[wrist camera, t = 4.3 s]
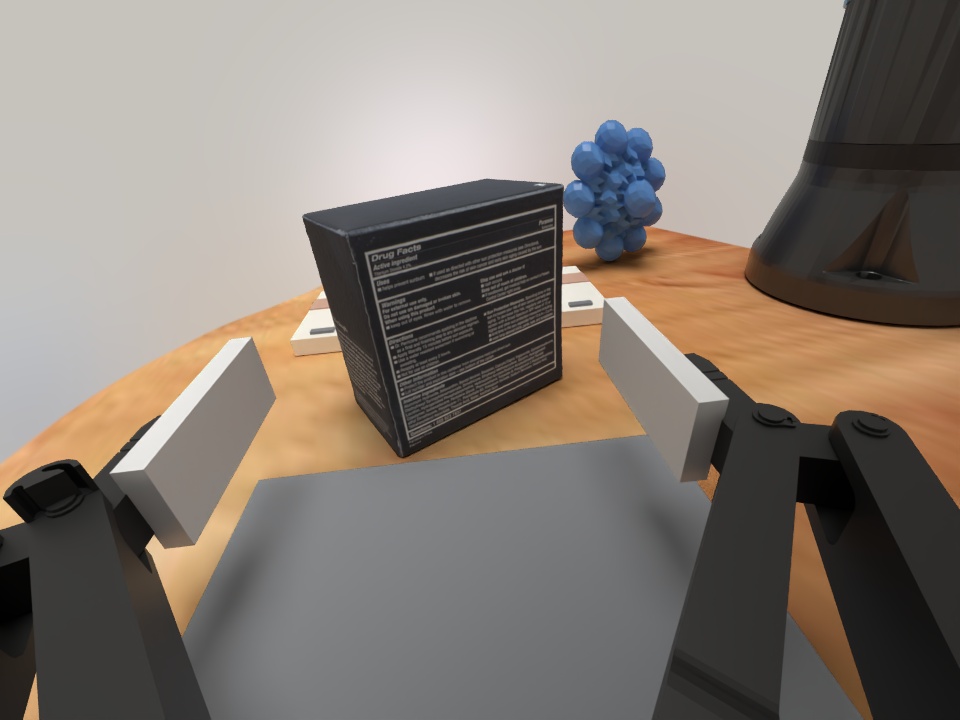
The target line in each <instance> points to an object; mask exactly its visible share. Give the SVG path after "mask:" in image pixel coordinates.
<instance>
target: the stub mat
mask: <svg viewBox="0 0 960 720" xmlns="http://www.w3.org/2000/svg"><path fill="white" fill-rule="evenodd" d="M711 504H712V503H711V501H710V500H709V498H708V497H707V496H706V494H705V493H704V491H703V490H702V488H701V487H700V486H699V484H698V483H697V481H691V482H683V483H679V481H678V480H677V478H676V477H675V475H674V474H673V472H672V471H671V469H670V468H669V466H668V465H667V463H666V462H665V460H664V459H663V457H662V456H661V454H660V453H659V451H658V450H657V448H656V447H655V445H654V444H653V442H652V441H651V439H650V438H649V436H648V435H640V436H631V437H623V438H614V439H606V440H597V441H588V442H580V443H571V444H563V445H554V446H546V447H537V448H529V449H520V450H512V451H503V452H495V453H486V454H478V455H469V456H460V457H452V458H443V459H435V460H426V461H418V462H409V463H401V464H392V465H384V466H375V467H367V468H358V469H350V470H341V471H332V472H324V473H315V474H307V475H298V476H290V477H281V478H273V479H264V480H259V481H258V483H257V485H256V487H255V489H254V491H253V493H252V495H251V497H250V499H249V501H248V503H247V505H246V507H245V510H244V512H243V514H242V516H241V518H240V520H239V522H238V524H237V526H236V528H235V530H234V532H233V534H232V536H231V538H230V540H229V542H228V544H227V546H226V549H225V551H224V553H223V555H222V557H221V559H220V561H219V563H218V565H217V567H216V569H215V571H214V573H213V575H212V577H211V579H210V581H209V583H208V585H207V588H206V590H205V592H204V594H203V596H202V598H201V600H200V602H199V604H198V606H197V608H196V610H195V612H194V614H193V616H192V618H191V620H190V622H189V624H188V627H187V629H186V631H185V633H184V635H183V637H182V640H183V643H184V646H185V648H186V651H187V654H188V657H189V659H190V662H191V665H192V668H193V670H194V673H195V676H196V679H197V681H198V684H199V687H200V689H201V692H202V695H203V698H204V700H205V703H206V706H207V709H208V711H209V714H210V717H211V720H651V719H652V716H653V712H654V709H655V705H656V701H657V698H658V694H659V691H660V687H661V684H662V680H663V676H664V673H665V669H666V666H667V662H668V658H669V655H670V651H671V648H672V644H673V640H674V637H675V633H676V630H677V626H678V623H679V619H680V615H681V612H682V608H683V605H684V601H685V597H686V594H687V590H688V587H689V583H690V580H691V576H692V572H693V569H694V565H695V562H696V558H697V554H698V551H699V547H700V544H701V540H702V536H703V533H704V529H705V526H706V522H707V519H708V515H709V511H710V508H711ZM779 717H780V720H864V719H863V718H862V716H861V715H860V713H859V712H858V710H857V709H856V708H855V706H854V705H853V703H852V702H851V700H850V699H849V698H848V696H847V695H846V693H845V692H844V690H843V689H842V688H841V686H840V685H839V683H838V682H837V681H836V679H835V678H834V676H833V675H832V673H831V672H830V671H829V669H828V668H827V666H826V665H825V663H824V662H823V661H822V659H821V658H820V656H819V655H818V654H817V652H816V651H815V649H814V648H813V646H812V645H811V644H810V642H809V641H808V639H807V638H806V636H805V635H804V634H803V632H802V631H801V629H800V628H799V626H798V625H797V624H796V622H795V621H794V619H793V618H792V617H791V615H790V614H789V612H788V611H787V618H786V630H785V642H784V655H783V667H782V680H781V692H780V704H779Z"/></svg>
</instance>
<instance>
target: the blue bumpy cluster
mask: <svg viewBox="0 0 960 720" xmlns="http://www.w3.org/2000/svg"><path fill="white" fill-rule="evenodd" d="M652 149H653V146H652V140H651V138H650V136H649V134H648V133H647V132H646V131H645V130H643V129H642V128H633V129H631V130H630V131H628V132H626V130H625V128H624V126H623V125H622V124H621V123H619V122H618V121H616V120H608V121H606V122H605V123H603V124H602V125H601V126H600V128H599V130H598V131H597V133H596V135H595V143H593V142H583V143H581V144H580V145H578V146H577V147H576V149H575V151H574V152H573V154H572V158H571V165H572V170H573V171H574V173H575V175H576V176H577V177H578V178H579V179H580V180H574V181H573V182H571V183H570V184H569V185H568V186H567V188H566V190H565V191H564V198H563V204H564V207H565V209H566V210H567V212H568V213H569V214H571V215H572V216H574V217H575V218H578V220H577V221H576V223H575V225H574V227H573V236H574V239H575V241H576V242H577V244H578V245H580V246H581V247H583V248H585V249H593V248H594V247H595V251H596V253H597V255H598V256H599V257H600V258H601V259H603V260H604V261H614V260H616V259H617V258H619V257H620V256H621V254H622V253H623V250H626V251H627V252H635V251H637V250H639V249H641V248H642V247H643V245H644V244H645V242H646V238H647V236H646V231H645V229H644V227H643V226H651V225H653V224H655V223H656V222H657V221H658V220H659V219H660V217H661V215H662V205H661V202H660V200H659V199H658V197H656V194H655V192H656V191H657V190H659V189H660V187H661V186H662V185H663V182H664V180H665V170H664V167H663V165H662V163H661V162H660V161H659V160H657V159H656V158H650V156H651V153H652Z"/></svg>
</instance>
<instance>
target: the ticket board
mask: <svg viewBox="0 0 960 720" xmlns="http://www.w3.org/2000/svg"><path fill="white" fill-rule="evenodd" d="M562 268H563V270H562V327H572V326H581V325H590V324H600V323H602V316H603V304H604V299H605V298H604V297H603V296H602V295H601V294H600V292H599V291H598V290H597V289H596V288H595V287H594V286H593V285H592V284H591V282H590V280H589V279H588V278H587V277H586V276H585V275H584V273H583V272H581V271H580V270H579V269H578V268H577V267H576V266H568V267H562ZM309 310H310V311H309V312H308V314H307V315H306V317H305V318H304V320H303V321H302V323H301V325H300V326H299V328H298V329H297V331H296V332H295V334H294V335H293V337H292V338H291V340H290V342H291V345H292V347H293V350H294V353H295V356H300V355H309V354H319V353H328V352H337V351H342V350H341V346H340V342H339V340H338V336H337V332H336V329H335V325H334V322H333V318H332V315H331V311H330V308H329V305H328V301H327V298H326V295H325V292H324V291H322V292H321V294H320V295H319V297H318V298H317V299H316V300H315V301H314V303H313V304H312V306H311V307H310V309H309ZM562 327H561V328H562Z"/></svg>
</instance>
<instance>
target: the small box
mask: <svg viewBox="0 0 960 720" xmlns="http://www.w3.org/2000/svg"><path fill="white" fill-rule="evenodd" d="M563 198H564V186H563V184H555V183H554V184H553V183H539V182H526V181H510V180H495V179H483V180H478V181H473V182H467V183H462V184H457V185H452V186H447V187H441V188H436V189H431V190H425V191H420V192H415V193H410V194H405V195H400V196H395V197H390V198H384V199H380V200H374V201H369V202H363V203H358V204H353V205H348V206H342V207H337V208H332V209H327V210H322V211H317V212H312V213H307V214H304V215H303V216H302V217H303V222H304V224H305V228H306V232H307V235H308V237H309V240H310V244H311V247H312V251H313V254H314V257H315V260H316V264H317V267H318V271H319V274H320V278H321V281H322V285H323V288H324V292H325V295H326V298H327V301H328V305H329V308H330V311H331V315H332V318H333V322H334V325H335V329H336V332H337V336H338V340H339V342H340V346H341V350H342V352H343V357H344V360H345V364H346V367H347V370H348V373H349V377H350V380H351V383H352V387H353V390H354V396H355V399H356V402H357V403H358V404H359V406H360V407H361V408H362V410H363V411H364V413H365V414H366V415H367V416H368V418H369V419H370V420H371V421H372V423H373V424H374V425H375V427H376V428H377V429H378V430H379V432H380V433H381V434H382V435H383V437H384V438H385V439H386V441H387V442H388V443H389V445H390V446H391V447H392V448H393V450H394V451H395V452H396V454H398V455H399V456H400V457H405V456H407V455H410V454H412V453H414V452H416V451H418V450H419V449H421V448H423V447H425V446H428V445H430V444H431V443H433V442H435V441H437V440H439V439H441V438H443V437H445V436H447V435H449V434H451V433H453V432H455V431H457V430H459V429H461V428H463V427H464V426H466V425H468V424H471V423H472V422H474V421H476V420H478V419H480V418H482V417H484V416H486V415H488V414H490V413H492V412H494V411H496V410H498V409H500V408H502V407H504V406H506V405H507V404H510V403H512V402H514V401H515V400H517V399H519V398H521V397H523V396H525V395H527V394H529V393H531V392H533V391H535V390H537V389H539V388H541V387H543V386H545V385H547V384H549V383H551V382H553V381H555V380H556V379H558V378H560V377H562V369H563V368H562V346H561V345H562V337H561V327H562V270H563V268H562V256H563V251H562V250H563V244H562V242H563V229H562V228H563Z"/></svg>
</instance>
